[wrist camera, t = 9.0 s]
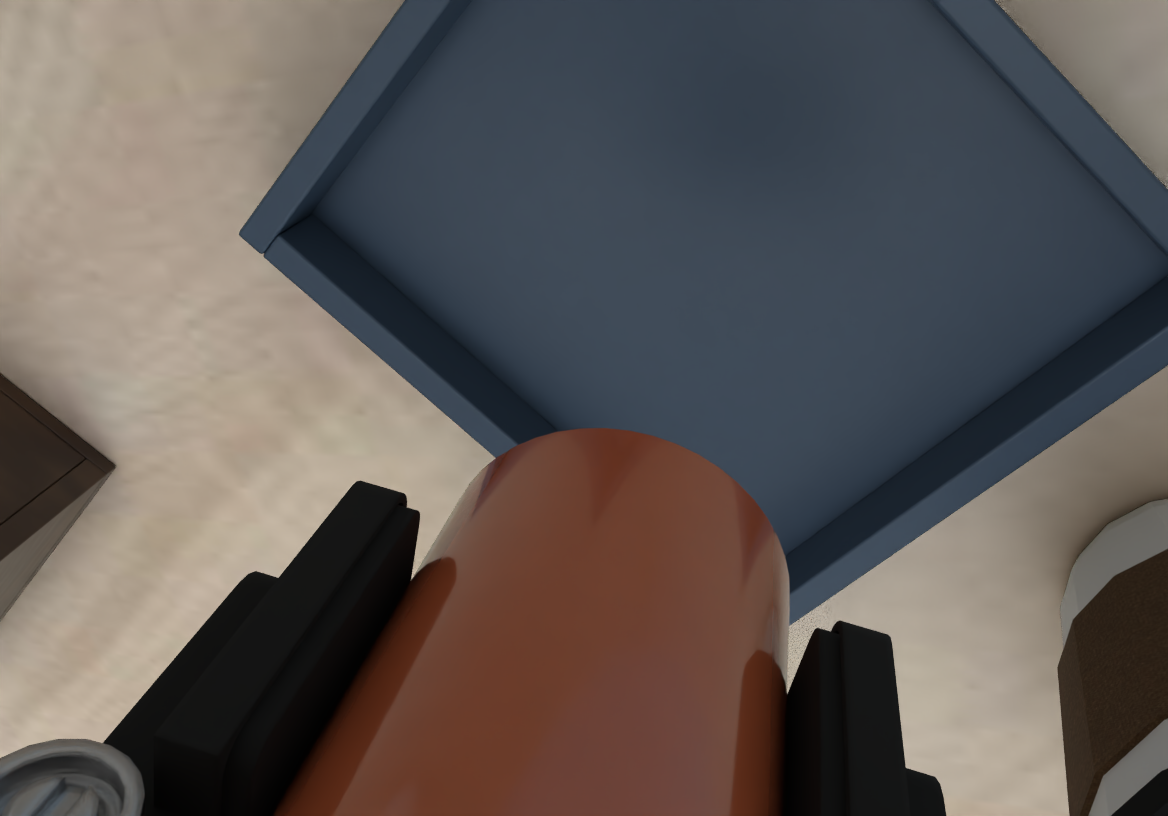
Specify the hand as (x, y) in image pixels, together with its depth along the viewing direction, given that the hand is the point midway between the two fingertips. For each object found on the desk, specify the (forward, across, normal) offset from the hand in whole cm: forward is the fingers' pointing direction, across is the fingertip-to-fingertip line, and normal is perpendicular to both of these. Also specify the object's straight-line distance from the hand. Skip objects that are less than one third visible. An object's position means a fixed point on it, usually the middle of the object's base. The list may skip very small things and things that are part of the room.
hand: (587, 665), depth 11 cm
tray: (+16, 0, 0) cm, 16 cm away
